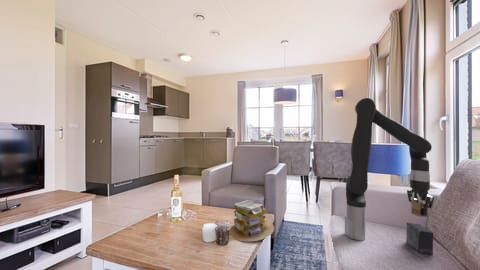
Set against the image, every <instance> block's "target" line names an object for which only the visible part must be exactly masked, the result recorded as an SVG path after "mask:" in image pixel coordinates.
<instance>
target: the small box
mask: <svg viewBox="0 0 480 270" xmlns="http://www.w3.org/2000/svg"><path fill="white" fill-rule="evenodd" d="M405 239H406V244H408V245H409V246H410V247H411V249H414V250H415V251H416V252H418V253H421V254H427V255H433V253H434V232H433V231H432V230H430V229H429V228H427V227H425V226H423V225H422V224H419V223H412V222H406V238H405Z"/></svg>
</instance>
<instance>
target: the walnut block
mask: <svg viewBox="0 0 480 270" xmlns="http://www.w3.org/2000/svg"><path fill="white" fill-rule="evenodd" d="M423 204H424V203H423ZM424 205H425V204H424ZM421 208H422V207H421V204H420V203H419V202H418V201H412V203H411V209H410V210H411V214H413V215H415V216H416V217H424V218H425V217H427V218H428V217H429V208H427V216H422V215H421Z"/></svg>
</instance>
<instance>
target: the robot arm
mask: <svg viewBox="0 0 480 270" xmlns="http://www.w3.org/2000/svg"><path fill="white" fill-rule="evenodd" d="M354 110H355V114H356V124H355V128H354V131H353V134H352V139H351V148H350V156H351V166H352V167H351V173H350V175H349V176H348V177H347V179H346V182H345V199H346V215H345V217H344V235H345V236H346V237H347V238H348V239H350V240H351V239H352V240H356V241H365V240H366V225H367V224H366V223H367V222H366V221H367V220H366V219H367V218H366V216H367V215H366V214H367V213H366V212H367V207H366V206H367V202H366V198H365V193H366V191H367V190H368V184H369V183H368V181H369V180H368V179H369V178H368V177H369V175H368V174H369V173H368V171H369V163H370V157H371V150H372V141H373V139H372V138H373V123H374V124H375V125H376V126H378V127H380V129H382V130H384V131H385V132H386V133H388V135H390V136H391V137H393V138H394V139H396V140H398V141H399V142H401V143H403V144H405V145H406V146H408V150H409V157H410V174H409V187H410V189H411V190H410V189H407V190H406V194H407V198H408V202H409V203H411V204H412V201H418V202H419V203H420V204H421V207H422V208H421V215H422V216H421V217H423V216H427V208H428V209H432V208H433V203H434V201H435V197H434V196H431V195H429V191H430V189H431V174H430V173H431V172H430V161H429V159H428V158H427V153H430V152H431V151H432V148H433V147H432V143H431V142H429V140H427V139H426V138H424V137H422V136H421V135H419V134H417V133H415V132H413V131H412V130H410V129H409V128H408V127H406V126H404V124H402V123H400V122H398V121H397V120H395V119H392V118H390V117H388V116H386V115H385V114H383V113H382V112H380V110H378V109H377V104H376V102H375V101H374V100H373V99H372V98H371V97H370V98H369V97H364V98H362V99H360V100H359V101H358V102H357V103H356V105H355V107H354ZM423 203H424V204H425V205H424V204H423Z"/></svg>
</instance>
